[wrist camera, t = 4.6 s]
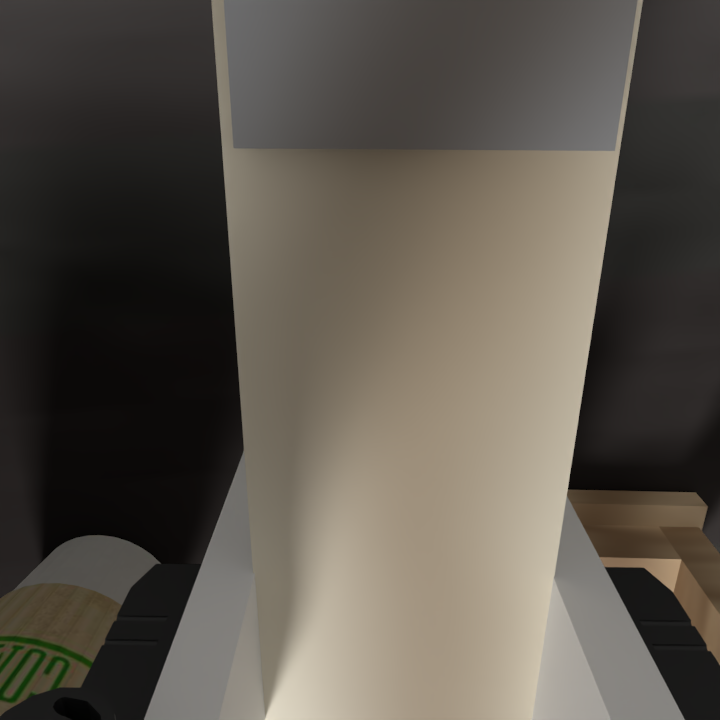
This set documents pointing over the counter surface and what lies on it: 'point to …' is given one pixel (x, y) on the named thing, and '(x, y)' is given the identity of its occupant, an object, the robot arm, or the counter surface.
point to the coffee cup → (64, 614)
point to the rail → (413, 331)
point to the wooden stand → (659, 546)
